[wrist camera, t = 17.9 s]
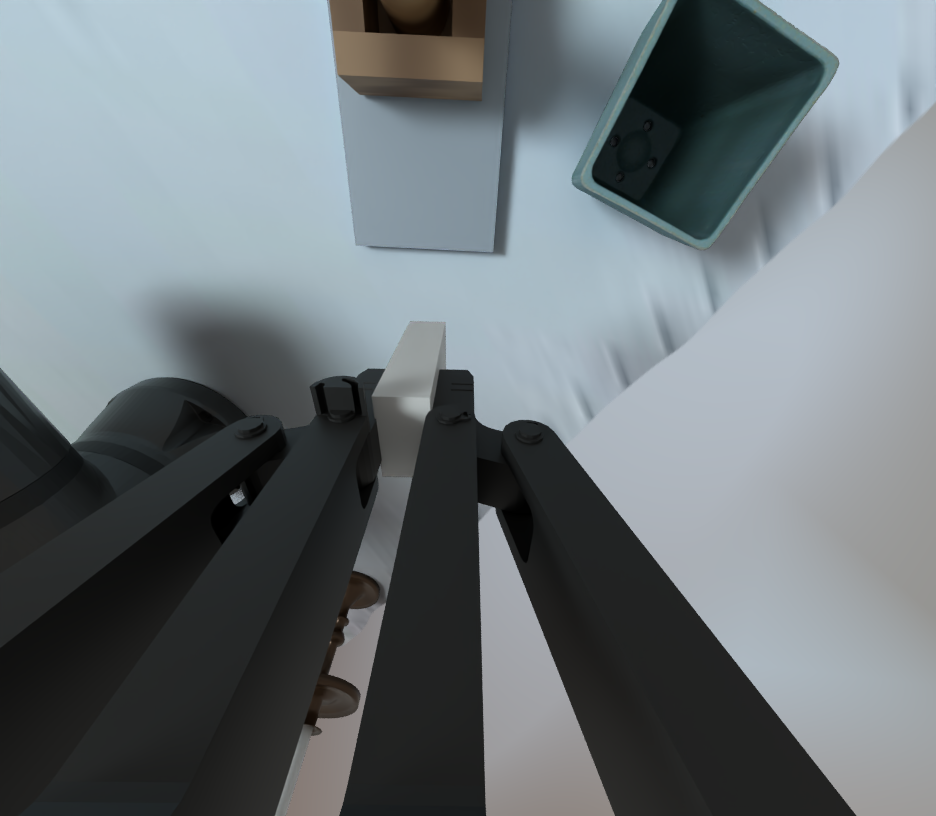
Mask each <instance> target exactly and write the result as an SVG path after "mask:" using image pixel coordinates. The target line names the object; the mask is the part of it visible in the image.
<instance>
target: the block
mask: <svg viewBox="0 0 936 816" xmlns="http://www.w3.org/2000/svg"><path fill="white" fill-rule="evenodd" d="M329 4H330V13H331V21H332V30H333V39H334V47H335V56H336V65H337V74H338V76H339V77H341V78H342V79H343V80H344V81H345V82H346V83H347V84H348V85H349V86H350V87H351V88H353V89H354V90H355V91H356V92H357V93H358V94H359V95H371V96H391V97H411V98H430V99H450V100H469V101H482V85H483V65H484V44H485V24H486V4H487V0H449V10H448V17H447V21H446V24H445V27H444V29H443V31H442V33H441V34H440V36H427V35H407V34H397V33H396V31H395V29H394V28H393V26H392V24H391V21H390V19H389V17H388V15H387V13H386V11H385V9H384V7H383V5H382V3H381V1H380V0H329Z"/></svg>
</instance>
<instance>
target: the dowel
mask: <svg viewBox="0 0 936 816" xmlns="http://www.w3.org/2000/svg"><path fill="white" fill-rule="evenodd" d="M380 1H381V3H382V5H383V7H384V9H385V11H386V13H387V15H388V17H389V19H390V21H391V24H392V26H393V28H394V29H395V31H396V33H397V34H407V35H427V36H440V34H441V33H442V31H443V29H444V27H445V24H446V21H447V17H448V10H449V0H380Z"/></svg>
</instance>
